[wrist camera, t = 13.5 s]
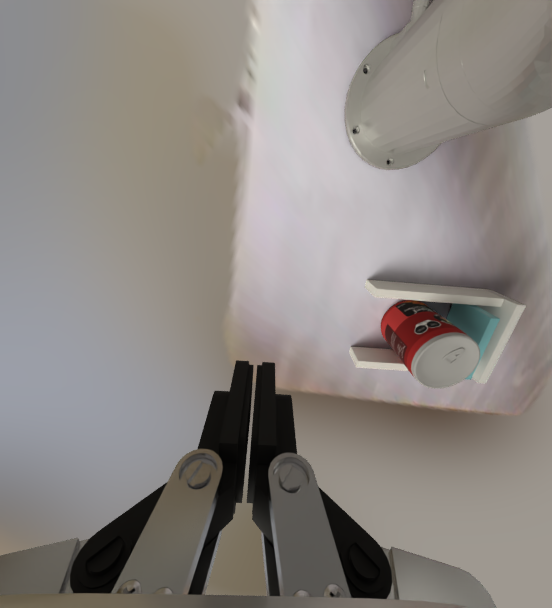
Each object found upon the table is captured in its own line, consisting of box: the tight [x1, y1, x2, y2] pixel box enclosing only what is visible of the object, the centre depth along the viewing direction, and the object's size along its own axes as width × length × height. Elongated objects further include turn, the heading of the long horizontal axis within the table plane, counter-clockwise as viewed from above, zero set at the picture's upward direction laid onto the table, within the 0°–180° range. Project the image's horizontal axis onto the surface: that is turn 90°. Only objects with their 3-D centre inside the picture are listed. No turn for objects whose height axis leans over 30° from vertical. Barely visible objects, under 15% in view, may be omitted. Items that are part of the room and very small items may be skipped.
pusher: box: [446, 303, 500, 380], centre depth 38 cm, size 10×1×7 cm, turn 175°
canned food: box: [381, 300, 480, 389], centre depth 36 cm, size 8×8×11 cm
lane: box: [349, 280, 526, 384], centre depth 38 cm, size 13×19×6 cm
